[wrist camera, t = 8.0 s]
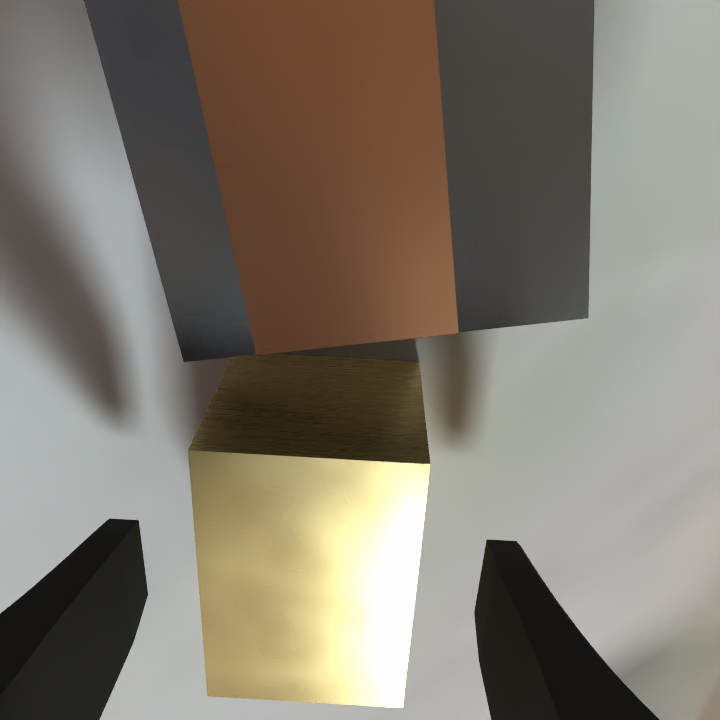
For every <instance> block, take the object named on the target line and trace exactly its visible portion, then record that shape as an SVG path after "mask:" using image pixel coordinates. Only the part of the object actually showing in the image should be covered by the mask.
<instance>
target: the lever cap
mask: <svg viewBox="0 0 720 720" xmlns="http://www.w3.org/2000/svg"><path fill="white" fill-rule="evenodd" d="M188 453H189V466H190V478H191V491H192V504H193V517H194V530H195V542H196V555H197V568H198V581H199V593H200V606H201V619H202V632H203V645H204V657H205V670H206V683H207V696H214V697H231V698H247V699H263V700H280V701H296V702H312V703H329V704H345V705H362V706H378V707H394V708H403V701H404V692H405V683H406V674H407V666H408V657H409V648H410V639H411V630H412V622H413V613H414V604H415V595H416V586H417V577H418V569H419V560H420V551H421V542H422V533H423V525H424V516H425V507H426V498H427V489H428V481H429V472H430V457H429V448H428V439H427V430H426V420H425V411H424V402H423V393H422V384H421V375H420V366H419V361H401V360H383V359H365V358H347V357H329V356H311V355H293V354H276V353H273V354H264V355H256V354H252V355H243V356H233V357H232V359H231V361H230V364H229V366H228V368H227V370H226V372H225V374H224V376H223V378H222V380H221V382H220V385H219V387H218V389H217V391H216V393H215V395H214V397H213V399H212V401H211V404H210V406H209V408H208V410H207V412H206V414H205V416H204V418H203V420H202V423H201V425H200V427H199V429H198V431H197V433H196V435H195V437H194V439H193V442H192V444H191V446H190V448H189V450H188Z"/></svg>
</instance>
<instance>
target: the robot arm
mask: <svg viewBox="0 0 720 720" xmlns="http://www.w3.org/2000/svg"><path fill="white" fill-rule="evenodd" d="M147 596H148V591H147V583H146V575H145V567H144V559H143V551H142V543H141V536H140V528H139V520H123V519H108V520H107V521H106V522H105V523H104V524H103V525H102V526H100V527H99V528H98V529H97V530H96V531H95V532H94V533H93V534H91V535H90V536H89V537H88V538H87V539H86V540H85V541H84V542H83V543H82V544H81V545H79V546H78V547H77V548H76V549H75V550H74V551H73V552H72V553H71V554H70V555H69V556H67V557H66V558H65V559H64V560H63V561H62V562H61V563H60V564H59V565H58V566H56V567H55V568H54V569H53V570H52V571H51V572H50V573H48V574H47V575H46V576H45V577H44V578H43V579H41V580H40V581H39V582H38V583H37V584H36V585H35V586H33V587H32V588H31V589H30V590H29V591H28V592H26V593H25V594H24V595H23V596H22V597H20V598H19V599H18V600H17V601H16V602H14V603H13V604H12V605H11V606H9V607H8V608H7V609H6V610H4V611H3V612H2V613H1V614H0V720H99V719H100V717H101V715H102V712H103V710H104V708H105V706H106V703H107V701H108V699H109V697H110V694H111V692H112V690H113V688H114V685H115V683H116V681H117V679H118V676H119V674H120V672H121V670H122V667H123V665H124V663H125V660H126V658H127V656H128V653H129V651H130V649H131V646H132V644H133V642H134V639H135V635H136V632H137V629H138V626H139V623H140V620H141V616H142V613H143V609H144V606H145V602H146V599H147ZM474 613H475V624H476V635H477V645H478V655H479V663H480V668H481V673H482V677H483V682H484V687H485V692H486V696H487V701H488V706H489V710H490V715H491V720H659V719H658V718H657V717H656V716H655V715H654V714H653V713H652V712H651V711H650V710H649V709H648V708H647V707H646V706H645V705H644V704H643V703H642V702H641V701H640V700H639V699H638V698H637V697H636V696H635V695H634V693H633V692H632V691H631V690H630V689H629V688H628V687H627V686H626V685H625V684H624V683H623V682H622V681H621V680H620V679H619V677H618V676H617V675H616V674H615V673H614V672H613V671H612V670H611V668H610V667H609V666H608V665H607V664H606V663H605V662H604V660H603V659H602V658H601V657H600V656H599V654H598V653H597V652H596V651H595V650H594V648H593V647H592V646H591V645H590V643H589V642H588V641H587V640H586V638H585V637H584V636H583V635H582V633H581V632H580V631H579V630H578V628H577V627H576V626H575V624H574V623H573V622H572V620H571V619H570V618H569V616H568V615H567V614H566V612H565V611H564V610H563V608H562V607H561V606H560V604H559V603H558V601H557V600H556V599H555V597H554V596H553V594H552V593H551V592H550V590H549V589H548V587H547V586H546V584H545V583H544V581H543V580H542V578H541V577H540V575H539V574H538V572H537V571H536V569H535V568H534V566H533V565H532V563H531V562H530V560H529V558H528V557H527V555H526V554H525V552H524V551H523V549H522V547H521V546H520V545H519V544H518V543H517V541H503V540H487V541H486V547H485V553H484V559H483V565H482V571H481V577H480V583H479V588H478V594H477V600H476V606H475V612H474Z"/></svg>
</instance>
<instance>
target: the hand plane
mask: <svg viewBox="0 0 720 720" xmlns="http://www.w3.org/2000/svg"><path fill="white" fill-rule="evenodd" d="M84 1H85V5H86V8H87V12H88V16H89V19H90V23H91V27H92V30H93V34H94V37H95V41H96V45H97V48H98V52H99V56H100V59H101V63H102V67H103V70H104V74H105V77H106V81H107V85H108V88H109V92H110V96H111V99H112V103H113V106H114V110H115V114H116V117H117V121H118V125H119V128H120V132H121V136H122V139H123V143H124V146H125V150H126V154H127V157H128V161H129V165H130V168H131V172H132V175H133V179H134V183H135V186H136V190H137V194H138V197H139V201H140V205H141V208H142V212H143V215H144V219H145V223H146V226H147V230H148V234H149V237H150V241H151V244H152V248H153V252H154V255H155V259H156V263H157V266H158V270H159V274H160V277H161V281H162V284H163V288H164V292H165V295H166V299H167V303H168V306H169V310H170V313H171V317H172V321H173V324H174V328H175V332H176V335H177V339H178V343H179V346H180V350H181V353H182V357H183V361H184V362H187V361H197V360H206V359H215V358H224V357H233V356H243V355H252V354H256V355H264V354H273V353H282V352H291V351H301V350H310V349H319V348H328V347H338V346H347V345H356V344H365V343H375V342H384V341H393V340H402V339H412V338H421V337H430V336H439V335H448V334H458V333H459V332H464V331H474V330H483V329H492V328H501V327H511V326H520V325H529V324H538V323H547V322H557V321H566V320H575V319H584V318H588V305H589V251H590V197H591V144H592V90H593V36H594V0H84Z"/></svg>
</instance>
